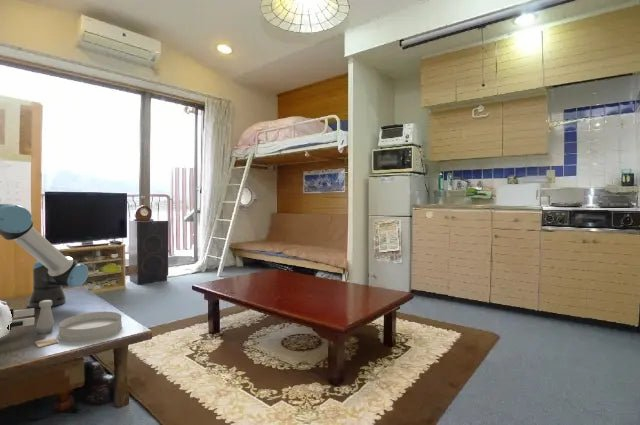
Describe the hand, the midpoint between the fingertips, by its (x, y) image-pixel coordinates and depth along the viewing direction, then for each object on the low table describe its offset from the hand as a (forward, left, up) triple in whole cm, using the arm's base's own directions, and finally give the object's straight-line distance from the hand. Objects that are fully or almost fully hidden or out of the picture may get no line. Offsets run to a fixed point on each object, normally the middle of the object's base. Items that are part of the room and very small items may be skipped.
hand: (34, 316), depth 137 cm
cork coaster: (+13, +4, -7) cm, 16 cm away
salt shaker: (-1, +4, -8) cm, 8 cm away
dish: (+8, +19, -8) cm, 22 cm away
